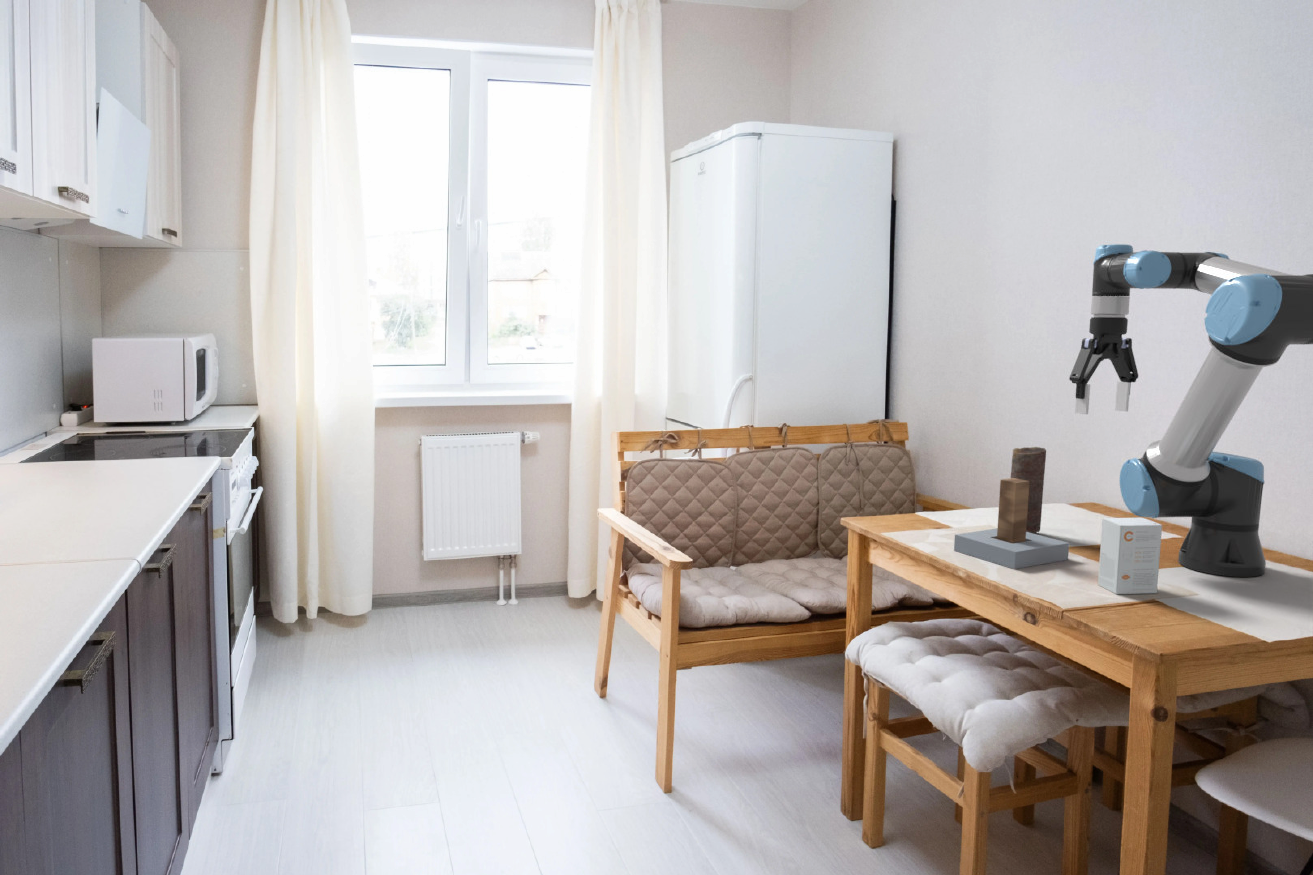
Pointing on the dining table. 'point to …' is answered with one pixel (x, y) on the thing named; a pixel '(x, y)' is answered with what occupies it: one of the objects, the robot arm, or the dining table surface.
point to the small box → (1129, 555)
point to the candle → (1031, 481)
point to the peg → (1013, 510)
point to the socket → (1011, 549)
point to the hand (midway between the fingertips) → (1101, 412)
